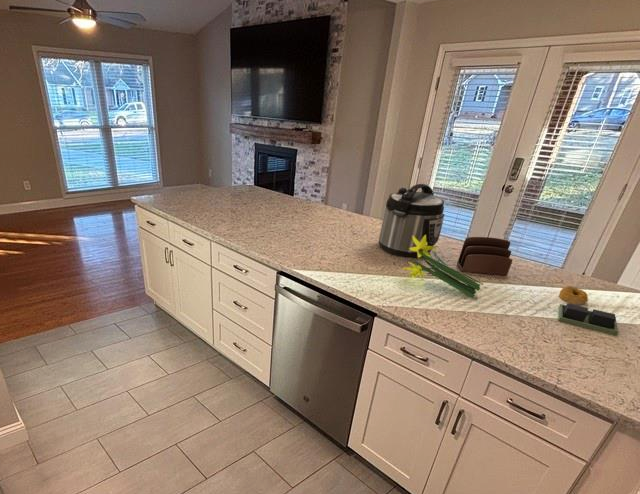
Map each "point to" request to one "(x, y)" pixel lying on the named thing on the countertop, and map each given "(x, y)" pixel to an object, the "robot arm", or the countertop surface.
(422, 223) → the pressure cooker
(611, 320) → the loose pad
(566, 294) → the bagel
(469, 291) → the daffodil flowers
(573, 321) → the tray
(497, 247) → the letter holder
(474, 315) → the countertop surface
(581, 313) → the seated pad
